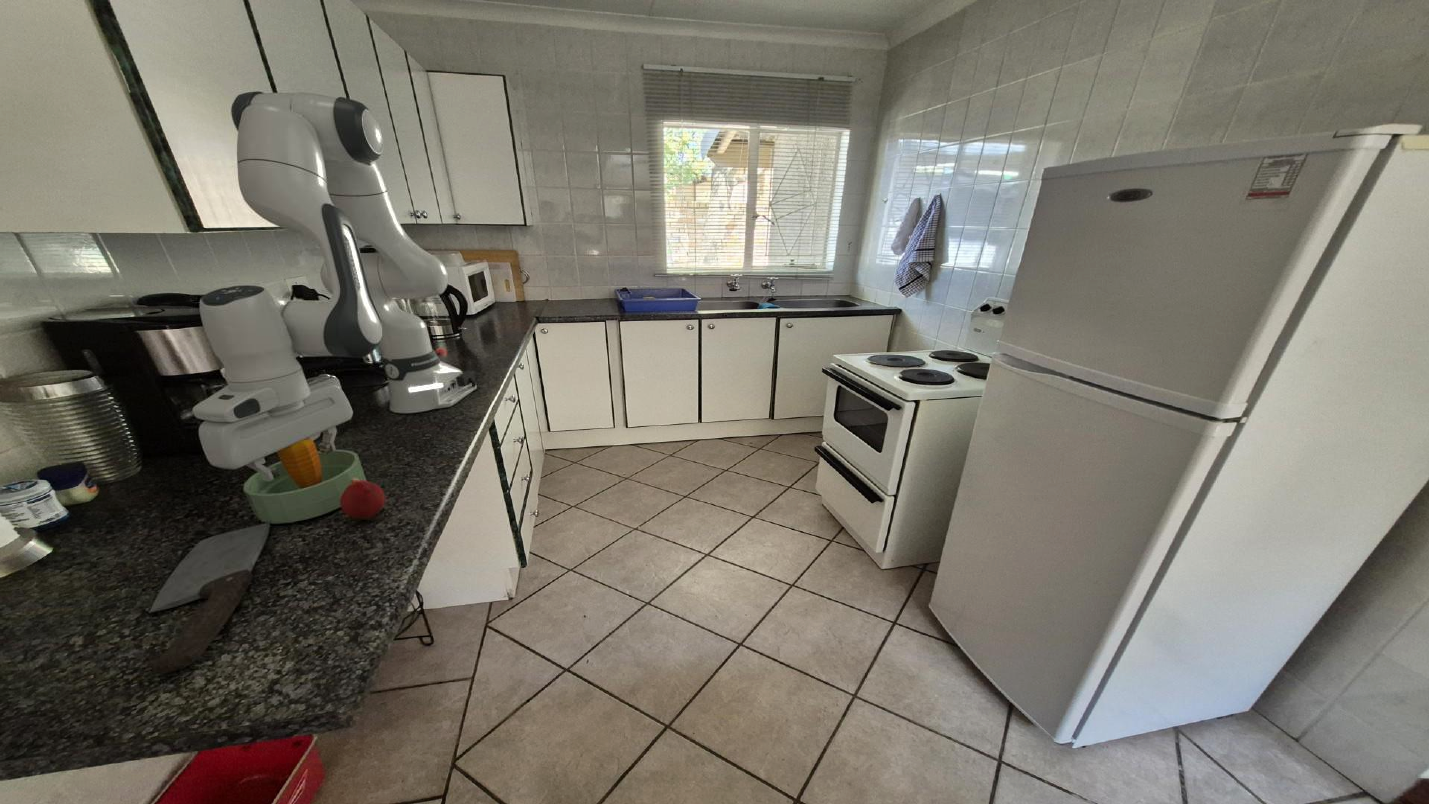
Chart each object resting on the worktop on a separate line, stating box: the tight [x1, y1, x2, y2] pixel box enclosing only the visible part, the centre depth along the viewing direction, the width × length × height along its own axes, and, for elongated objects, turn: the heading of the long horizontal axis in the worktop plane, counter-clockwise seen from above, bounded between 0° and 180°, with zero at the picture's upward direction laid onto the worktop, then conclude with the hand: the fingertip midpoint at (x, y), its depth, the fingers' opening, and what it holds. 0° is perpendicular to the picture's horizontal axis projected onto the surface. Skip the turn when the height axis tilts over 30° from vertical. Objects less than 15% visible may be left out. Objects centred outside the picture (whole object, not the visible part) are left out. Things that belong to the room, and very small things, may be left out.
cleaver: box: [148, 522, 271, 676], centre depth 60 cm, size 29×10×2 cm, turn 34°
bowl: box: [242, 449, 367, 525], centre depth 79 cm, size 15×15×6 cm
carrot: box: [276, 438, 322, 489], centre depth 77 cm, size 5×5×15 cm
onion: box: [340, 478, 387, 521], centre depth 74 cm, size 6×6×8 cm
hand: (302, 464), depth 77 cm, fingers open, 8 cm apart
